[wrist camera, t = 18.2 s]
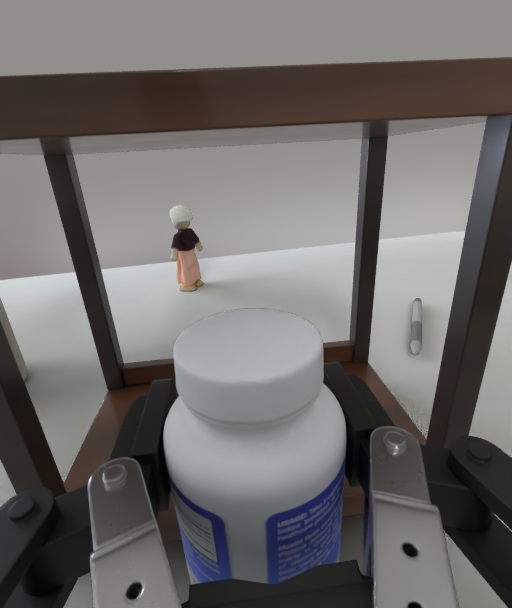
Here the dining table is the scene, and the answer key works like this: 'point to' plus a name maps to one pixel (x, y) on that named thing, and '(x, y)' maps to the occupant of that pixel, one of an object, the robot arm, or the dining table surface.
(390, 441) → the robot arm
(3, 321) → the travel mug
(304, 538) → the pill bottle
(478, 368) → the shelf
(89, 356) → the dining table surface
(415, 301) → the pen
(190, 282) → the grandmother figurine
